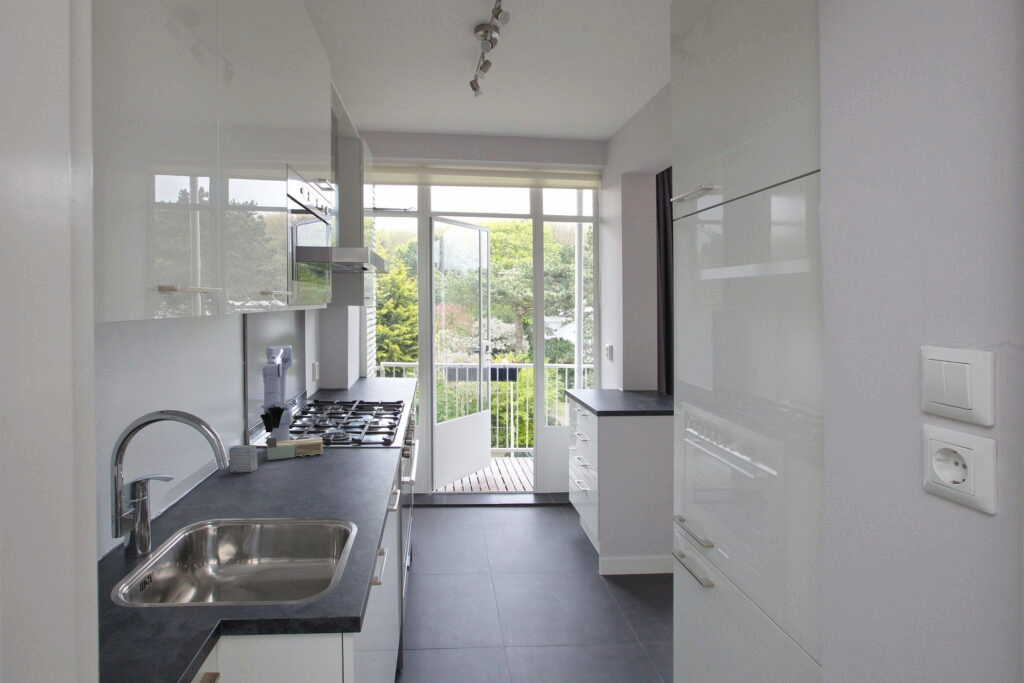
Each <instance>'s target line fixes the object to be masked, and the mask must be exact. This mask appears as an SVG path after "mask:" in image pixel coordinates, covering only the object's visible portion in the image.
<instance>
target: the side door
mask: <svg viewBox="0 0 1024 683" xmlns="http://www.w3.org/2000/svg"><path fill="white" fill-rule="evenodd" d="M267 445H268V448H267V447H266V452H268V457H267V460H268V461H271V460H279V459H280V460H282V459H292V458H297V457H296V446H295V445H289V446H279V447H277V441H276V437H275V438H271V437H268V438H267Z"/></svg>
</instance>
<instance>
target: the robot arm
mask: <svg viewBox="0 0 1024 683" xmlns="http://www.w3.org/2000/svg"><path fill="white" fill-rule="evenodd" d="M265 351H266V360H267V361H266V363H265V365H263V366H262V379H263V404H262V405H261V406H260V409H263V414H260V415H259V416H260V419H261V420H262V422H263V425H264V430H265V433H270V438H275V437H276V441H277V442H278V441H288V440H291V436H290V435H291V434H290V426H291V425H292V424H293V420H294V419H293V408H292V405H290V404H289V403H287V402H286V392H287V391H286V388H287V387H286V385H287V373H288V369H290V368H291V367H292V364H293V346H292V345H290V344H289V345H267V347H266V350H265Z"/></svg>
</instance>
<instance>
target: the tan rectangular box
mask: <svg viewBox="0 0 1024 683" xmlns="http://www.w3.org/2000/svg"><path fill="white" fill-rule="evenodd" d="M323 441H324V440H323V437H310V438H300V439H299V438H298V439H290V440H288V441H278V442H277V447H279V446H289V445H295V446H296V456H301V457H306V456H305V455H310V456H316V455H315V454H320V455H324V443H323ZM267 448H268V444H267V445H266V449H267ZM266 452H267V451H266ZM266 454H267V455H266V456H267V458H268V452H267V453H266ZM303 455H304V456H303Z"/></svg>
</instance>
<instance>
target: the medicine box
mask: <svg viewBox="0 0 1024 683" xmlns="http://www.w3.org/2000/svg"><path fill="white" fill-rule="evenodd" d="M228 455H229V456H228V457H229V470H230V473H253V472H255V471H257V470H258V467H259V466H258V457H257V456H258V454H257V445H252V444H251V445H250V444H249V445H245V444H243V445H233V446H232V447H231V446H230V448H228ZM254 470H255V471H254ZM235 471H236V472H235ZM252 471H253V472H252Z"/></svg>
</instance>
